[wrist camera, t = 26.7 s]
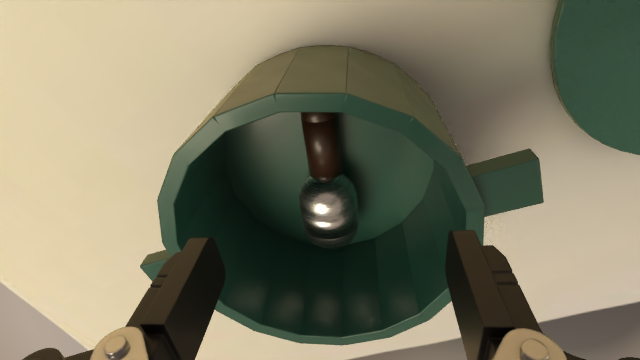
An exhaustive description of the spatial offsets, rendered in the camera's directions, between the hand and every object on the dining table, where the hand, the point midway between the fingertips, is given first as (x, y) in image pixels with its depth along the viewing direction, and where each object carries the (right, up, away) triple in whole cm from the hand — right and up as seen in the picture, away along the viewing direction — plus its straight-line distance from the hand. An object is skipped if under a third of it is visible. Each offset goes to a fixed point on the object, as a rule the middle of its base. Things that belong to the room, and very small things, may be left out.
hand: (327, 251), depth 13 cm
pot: (0, +4, +13) cm, 13 cm away
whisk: (0, +3, +12) cm, 13 cm away
